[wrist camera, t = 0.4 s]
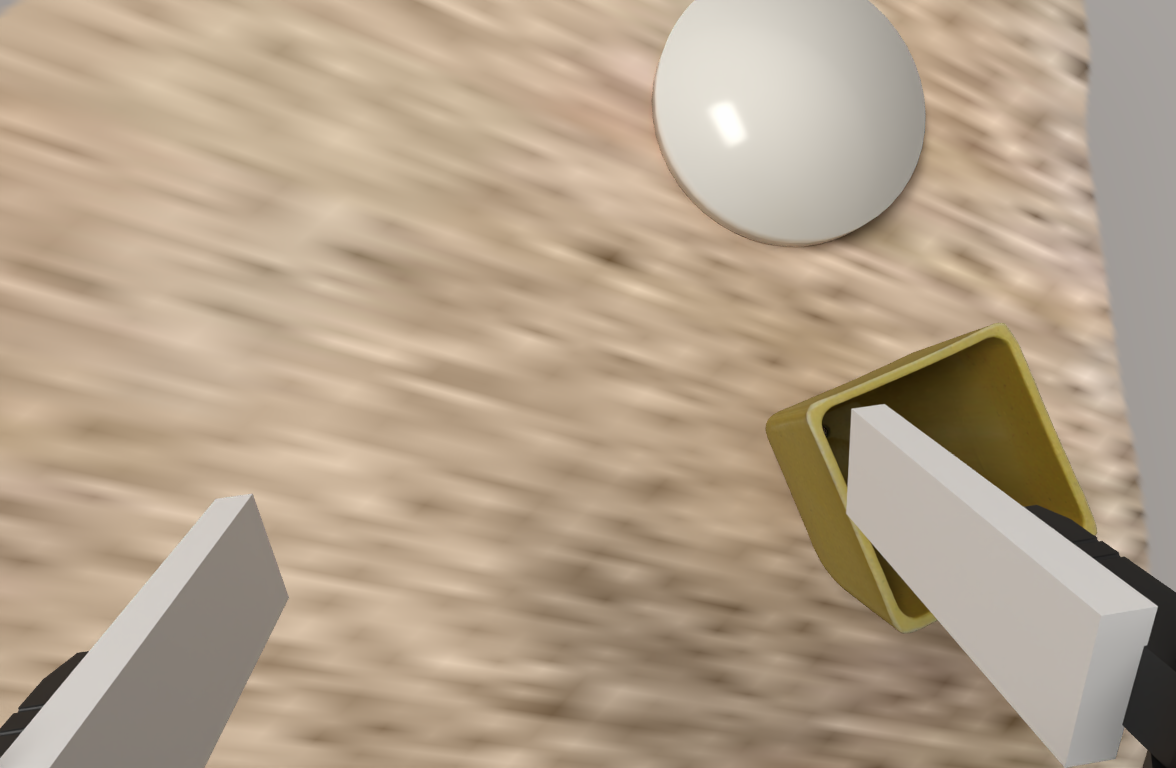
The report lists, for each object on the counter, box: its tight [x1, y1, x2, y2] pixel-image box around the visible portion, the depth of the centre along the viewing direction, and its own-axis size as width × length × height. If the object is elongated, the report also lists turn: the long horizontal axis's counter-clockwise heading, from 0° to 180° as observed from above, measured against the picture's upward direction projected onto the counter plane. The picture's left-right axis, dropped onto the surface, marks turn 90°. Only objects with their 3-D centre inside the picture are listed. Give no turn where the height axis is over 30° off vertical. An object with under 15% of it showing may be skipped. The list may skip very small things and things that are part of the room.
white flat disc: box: [652, 0, 926, 246], centre depth 32 cm, size 14×14×1 cm
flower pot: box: [766, 323, 1097, 634], centre depth 27 cm, size 9×9×9 cm
